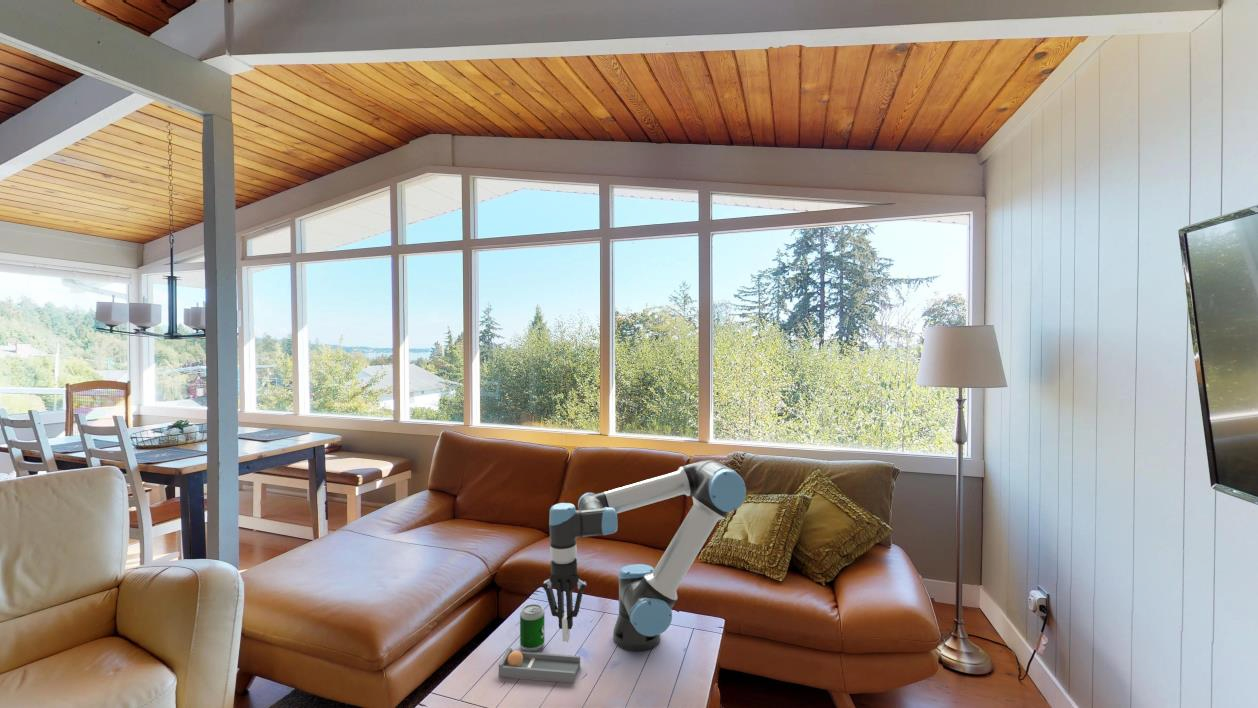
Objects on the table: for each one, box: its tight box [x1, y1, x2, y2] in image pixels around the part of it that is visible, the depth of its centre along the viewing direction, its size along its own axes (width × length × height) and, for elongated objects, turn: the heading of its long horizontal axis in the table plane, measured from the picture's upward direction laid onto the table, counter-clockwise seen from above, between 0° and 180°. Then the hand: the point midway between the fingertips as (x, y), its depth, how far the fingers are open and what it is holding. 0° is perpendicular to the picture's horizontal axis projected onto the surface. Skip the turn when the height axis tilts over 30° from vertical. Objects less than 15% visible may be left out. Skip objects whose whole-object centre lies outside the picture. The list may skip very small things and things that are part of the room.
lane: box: [498, 647, 581, 684], centre depth 157 cm, size 22×8×4 cm, turn 83°
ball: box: [508, 650, 523, 667], centre depth 157 cm, size 4×4×4 cm
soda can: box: [519, 603, 545, 653], centre depth 169 cm, size 8×8×12 cm
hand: (566, 638), depth 156 cm, fingers closed
